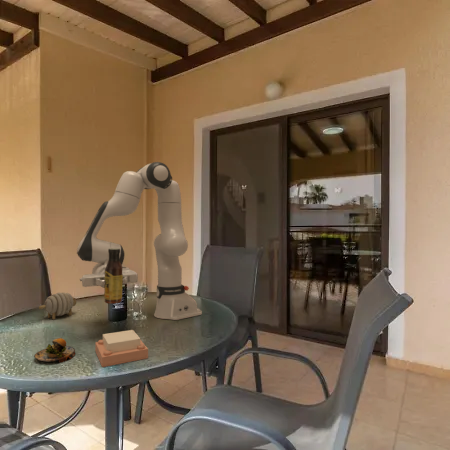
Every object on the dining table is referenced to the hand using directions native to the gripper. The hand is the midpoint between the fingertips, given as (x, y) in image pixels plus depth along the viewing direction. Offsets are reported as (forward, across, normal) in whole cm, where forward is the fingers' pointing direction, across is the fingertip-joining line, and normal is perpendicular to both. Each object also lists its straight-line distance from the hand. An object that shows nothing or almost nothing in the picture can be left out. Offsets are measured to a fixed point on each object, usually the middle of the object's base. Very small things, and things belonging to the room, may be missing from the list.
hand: (114, 282), depth 119 cm
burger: (+5, -19, +22) cm, 30 cm away
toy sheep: (-45, -16, +22) cm, 53 cm away
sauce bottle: (-1, 0, +8) cm, 8 cm away
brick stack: (+13, 0, +22) cm, 25 cm away
